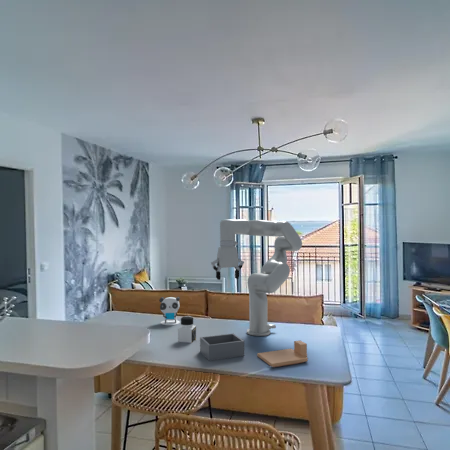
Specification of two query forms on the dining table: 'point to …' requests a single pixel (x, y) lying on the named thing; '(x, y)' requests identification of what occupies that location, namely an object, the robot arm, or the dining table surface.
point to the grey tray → (221, 346)
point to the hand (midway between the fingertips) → (227, 279)
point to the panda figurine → (170, 310)
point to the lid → (286, 355)
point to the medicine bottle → (187, 330)
